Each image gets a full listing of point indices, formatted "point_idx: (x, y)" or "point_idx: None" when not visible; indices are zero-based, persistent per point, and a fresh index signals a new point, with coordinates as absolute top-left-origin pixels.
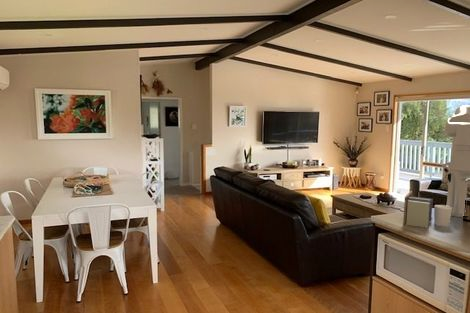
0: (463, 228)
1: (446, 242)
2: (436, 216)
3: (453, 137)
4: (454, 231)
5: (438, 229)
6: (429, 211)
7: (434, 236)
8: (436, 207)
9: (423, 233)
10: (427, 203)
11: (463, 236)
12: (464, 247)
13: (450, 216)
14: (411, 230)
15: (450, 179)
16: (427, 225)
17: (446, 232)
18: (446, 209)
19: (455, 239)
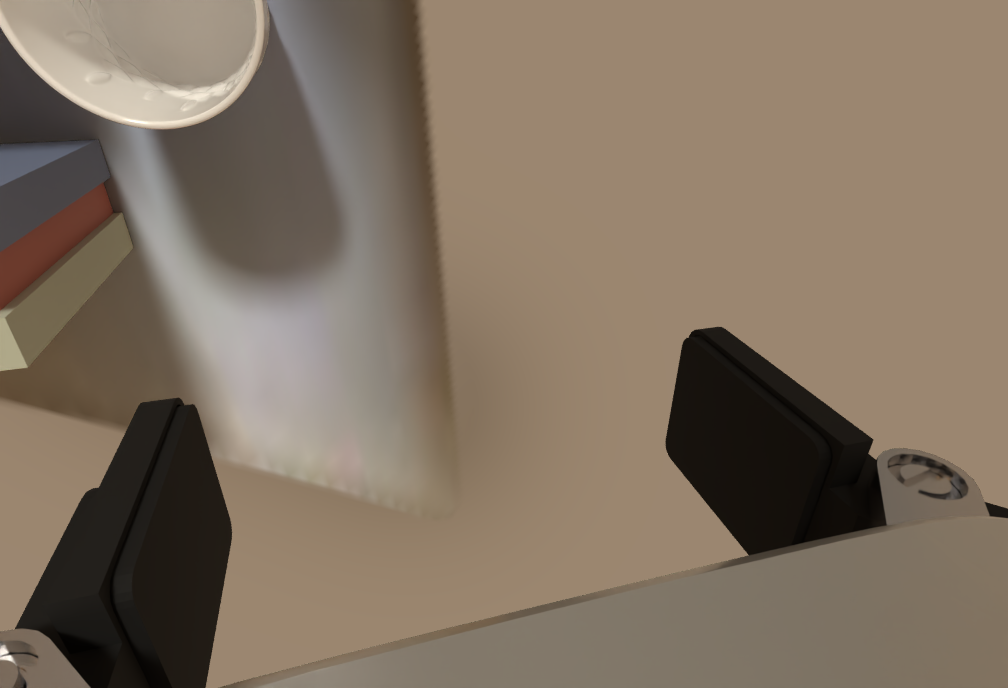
0: (403, 18)
1: (361, 484)
2: (119, 78)
3: None
4: (353, 193)
5: (227, 222)
6: (42, 208)
7: (266, 427)
8: (69, 97)
9: None
10: (3, 370)
11: (431, 289)
12: (456, 493)
13: (267, 12)
14: (64, 407)
15: (219, 584)
16: (123, 255)
17: (307, 270)
18: (221, 111)
19: (395, 394)
